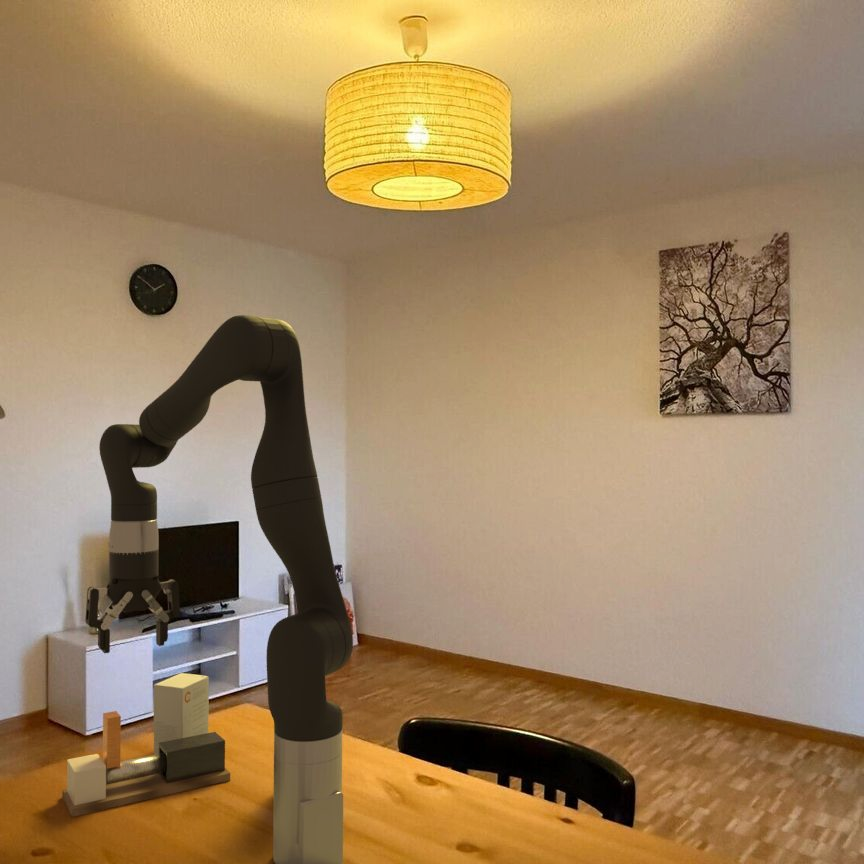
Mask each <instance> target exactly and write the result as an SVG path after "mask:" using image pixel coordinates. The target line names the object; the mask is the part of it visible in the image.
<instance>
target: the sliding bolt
mask: <svg viewBox="0 0 864 864" xmlns="http://www.w3.org/2000/svg"><path fill="white" fill-rule="evenodd" d="M121 717H122V716H121V715H120V713H118V711H117V710H113V711H108V712H104V713H102V761H103V762H104V764H105V765H106V785H108V784H113V783H118V782H122V781H127V780H131V779H136V778H141V777H145V776H150V775H154V774H159V773H164V772H166V754H165V753H160V754H156V755H154V754H152V755H151V754H150V755H147V756H141V757H137V758H131V759H127V760H122V761H121V740H122V739H121V735H122V734H121V733H122V732H121V728H122V727H121V726H122V723H121V722H122V721H121V719H122V718H121Z"/></svg>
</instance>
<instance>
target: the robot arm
mask: <svg viewBox="0 0 864 864" xmlns="http://www.w3.org/2000/svg"><path fill="white" fill-rule="evenodd" d="M239 380H240V381H243V382H259V383H260V386H261V390H262V396H263V403H264V404H263V405H264V415H265V418H264V420H265V422H264V426H263V431H262V435H261V436H260V439H259V443H258V446H257V448H256V451H255V454H254V457H253V461H252V466H251V472H250V481H251V489H252V495H253V501H254V508H255V512H256V517H257V521H258V524H259V527H260V528H261V530H262V532H263V535H264V536H265V537H266V540H267V541H268V543H269V544H270V546H271V547H272V549H273V550H274V551H275V553H276V555H277V556H278V557H279V559H280V560H281V562H282V564H283V566H284V567H285V569H286V570H287V573H288V575H289V577H290V581H291V584H292V588H293V593H294V599H295V604H296V605H295V606H296V612H297V613H295V614H292V615H290V616H287V617H286V616H285V617H284V618H282V619H280V620H279V621H277V622H276V624H274V626H273V627H272V628H271V631H270V632H269V636H268V639H267V646H266V657H265V658H266V681H267V701H268V707H269V708H268V709H269V713H270V714H271V717H272V719H273V726H274V727H273V729H274V730H273V806H272V807H273V812H272V813H273V815H272V816H273V817H272V820H273V825H272V830H273V833H272V834H273V839H272V840H273V843H272V844H273V846H272V847H273V851H272V853H273V858H272V859H273V863H274V864H343V863H344V794H343V720H344V719H343V710H342V708H341V707H340V705H339V704H338V703H335V702H333V701H331V700H328V699H327V690H326V689H327V688H326V685H327V684H326V677H327V676H329V675H331V674H333V673H335V672H337V671H339V670H340V669H342V668H344V666H346V665H347V664H348V662H349V660H350V658H351V655H352V652H353V648H354V636H353V629H352V625H351V621H350V617H349V613H348V610H347V607H346V603H345V601H344V596H343V594H342V589H341V586H340V583H339V579H338V576H337V572H336V568H335V564H334V560H333V553H332V548H331V545H330V543H331V542H330V538H329V534H328V529H327V524H326V520H325V518H326V517H325V513H324V507H323V499H322V493H321V487H320V483H319V478H318V471H317V468H316V465H315V459H314V455H313V448H312V443H311V436H310V434H311V433H310V429H309V428H310V427H309V424H308V422H309V421H308V417H307V409H306V399H305V388H304V373H303V361H302V354H301V346H300V343H299V338H298V336H297V335H296V332H295V330H294V329H293V328H292V326H291V325H290V324H289V323H288V322H286V321H284V320H282V319H278V318H272V317H264V316H258V315H257V316H256V315H249V314H248V315H247V314H241V315H234V316H232V317H229V318H228V319H226V321H224V322H223V323H221V324H220V326H219V327H218V328H217V329H216V330H215V331H214V332H213V334H212V335H211V337H209V339H208V340H207V342H206V343H205V344H204V345H203V347H202V349H200V351H199V352H198V353H197V354H196V356H195V357H194V359H192V361H191V362H190V364H188V365H187V368H186V369H185V370H184V371H183V373H182V374H181V376H179V377H178V379H176V381H174V383H173V384H172V385H171V386H169V387H167V389H166V390H165V391H164V392H162V393H161V394H159V396H158V397H157V398H156V399H154V400H153V401H152V402H151V403H149V404H148V405H147V406H146V407H145V408H144V409H143V410H142V412H141V414H140V416H139V419H138V424H134V423H133V424H131V423H130V424H128V423H117V424H111V425H110V426H108V427H107V428H106V429H105V430H104V432H103V433H102V435H101V437H100V440H99V448H98V449H99V456H100V459H101V460H100V461H101V463H102V467H103V470H104V474H105V477H106V481H107V482H106V483H107V485H108V489H109V493H110V527H109V536H108V546H107V547H108V549H109V550H108V583H107V586H106V587H94V586H89V587H88V588H87V592H86V603H85V604H86V606H85V607H86V608H85V620H84V621H85V624H86V625H87V626H89V628H96V629H97V646H98V649H99V650H101V651H102V653H104V654H109V653H110V650H111V639H110V638H111V629H109V628H110V626H111V625H112V623H113V622H114V621H115V619H117V618H118V617H119V616H120V614H121V613H122V612H123V613H132V612H135V611H136V612H137V611H140V612H143V611H144V612H145V611H146V610H147V609H149V610H150V611H151V612H152V613H153V614H154V616H155V617H156V618H157V620H156V622H155V628H156V629H155V630H156V631H155V638H156V639H155V642H156V645H157V646H158V647H160V646H161V647H162V646H165V642H168V640H169V622H170V621H171V620H173V619H175V618H178V617H180V615H181V607H180V603H181V602H180V590H179V589H180V588H179V583H178V581H176V580H175V579H172V578H171V579H168V580H167V581H160V580H159V551H160V550H159V549H160V548H159V546H160V545H159V544H160V543H159V537H160V536H159V527H158V492H157V488H156V487H155V486H154V484H152V483H149V482H148V483H147V482H144V481H140V480H138V479H137V478H136V475H135V472H134V471H133V470H134V468H135V469H137V468H140V469H141V468H153V467H156V466H158V465H160V464H162V463H164V462H165V461H166V460H167V459H168V458H169V456H170V455H171V453H172V452H173V450H174V448H175V447H176V445H177V443H178V442H179V440H180V439H181V438H183V437H184V436H185V435H187V434H188V433H189V432H190V431H192V430H193V429H194V428H196V427H197V426H198V425H199V424H200V423H201V422H202V421H203V419H204V418H205V417H206V415H207V413H208V410H209V408H210V404H211V399H212V396H213V395H214V394H215V393H216V392H217V391H219V390H221V389H223V387H225V386H228V385H229V384H231V383H233V382H236V381H239ZM162 590H163V593H164V594H165V595H167V610H164V609H163V607H162V606H161V605H160V604H159V602H158V601H157V600H156V598H157V596H158V595H159V593H160V592H161V591H162ZM105 595H106V596H107V597H108V598H109V600H110V603H109V605H107V607H106V608H105V611H104V613H103V614H102V616H100V618H98V611H99V603H100V602H102V601H103V600H104V599H103V598H104V597H105Z"/></svg>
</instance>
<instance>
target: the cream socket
mask: <svg viewBox="0 0 864 864" xmlns="http://www.w3.org/2000/svg"><path fill="white" fill-rule="evenodd" d="M66 762H67V763H66V764H67V765H66V767H67V769H66V773H67V774H66V789H67V792H68V794H69V796H70V798H71V800H72V802H73V804H74V806H75V805H79V804H84V803H88V802H93V801H97V800H102V799H106V765H105V764H104V762H103V758H101V757H100V755H99V754H98V753H94V754H89V755H88V754H87V755H82V756H79V757H73V758H69V759H67V760H66Z"/></svg>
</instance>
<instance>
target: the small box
mask: <svg viewBox="0 0 864 864" xmlns="http://www.w3.org/2000/svg"><path fill="white" fill-rule="evenodd" d="M209 680H210V677H209V676H207V675H201V674H194V673H193V674H192V673H184V672H180V673H179V674H176V675H174V676H171V677H168V678H167V679H164V680H161V681H160V682H157V683H154V684H153V755H156V754H158V753H159V743H160V742H165V741H170V740H175V739H181V738H186V737H191V736H196V735H201V734H206V733H210V732H209V714H210V712H209V710H210V708H209V707H210V705H209V699H210V698H209V697H210V695H209V694H210V693H209V688H210V687H209Z"/></svg>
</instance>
